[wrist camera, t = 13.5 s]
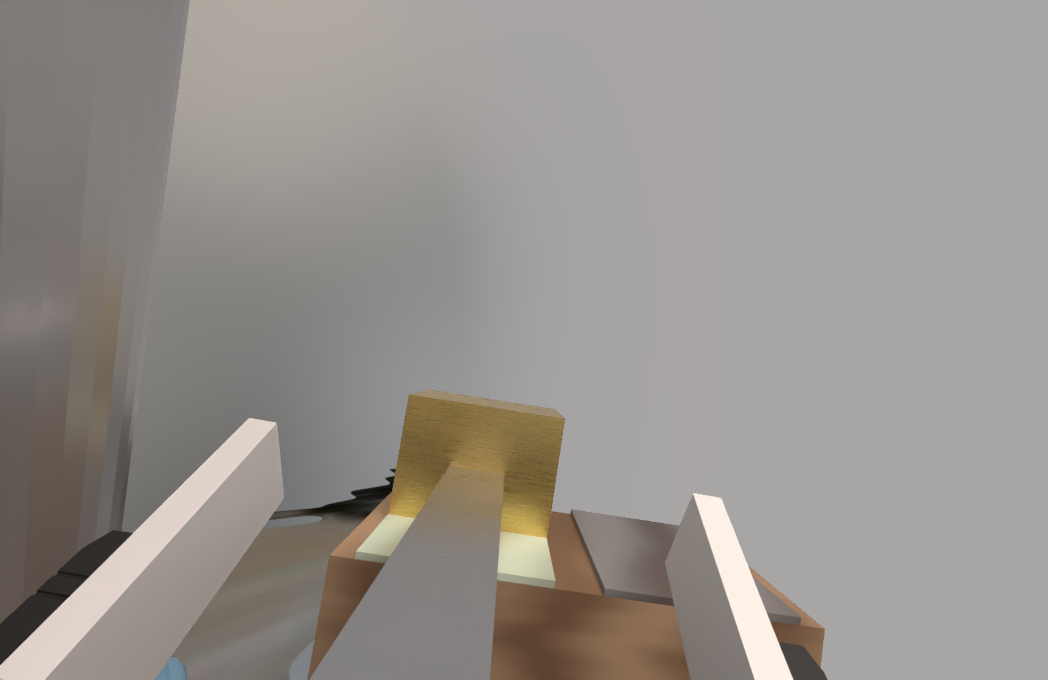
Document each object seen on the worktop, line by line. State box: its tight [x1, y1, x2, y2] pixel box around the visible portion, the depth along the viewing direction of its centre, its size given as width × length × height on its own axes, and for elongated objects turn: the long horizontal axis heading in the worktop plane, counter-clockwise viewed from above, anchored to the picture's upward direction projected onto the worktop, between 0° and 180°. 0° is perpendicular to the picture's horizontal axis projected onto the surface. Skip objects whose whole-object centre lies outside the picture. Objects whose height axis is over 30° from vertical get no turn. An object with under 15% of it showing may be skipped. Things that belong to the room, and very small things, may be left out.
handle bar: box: [309, 390, 565, 680], centre depth 18 cm, size 8×24×6 cm, turn 2°
